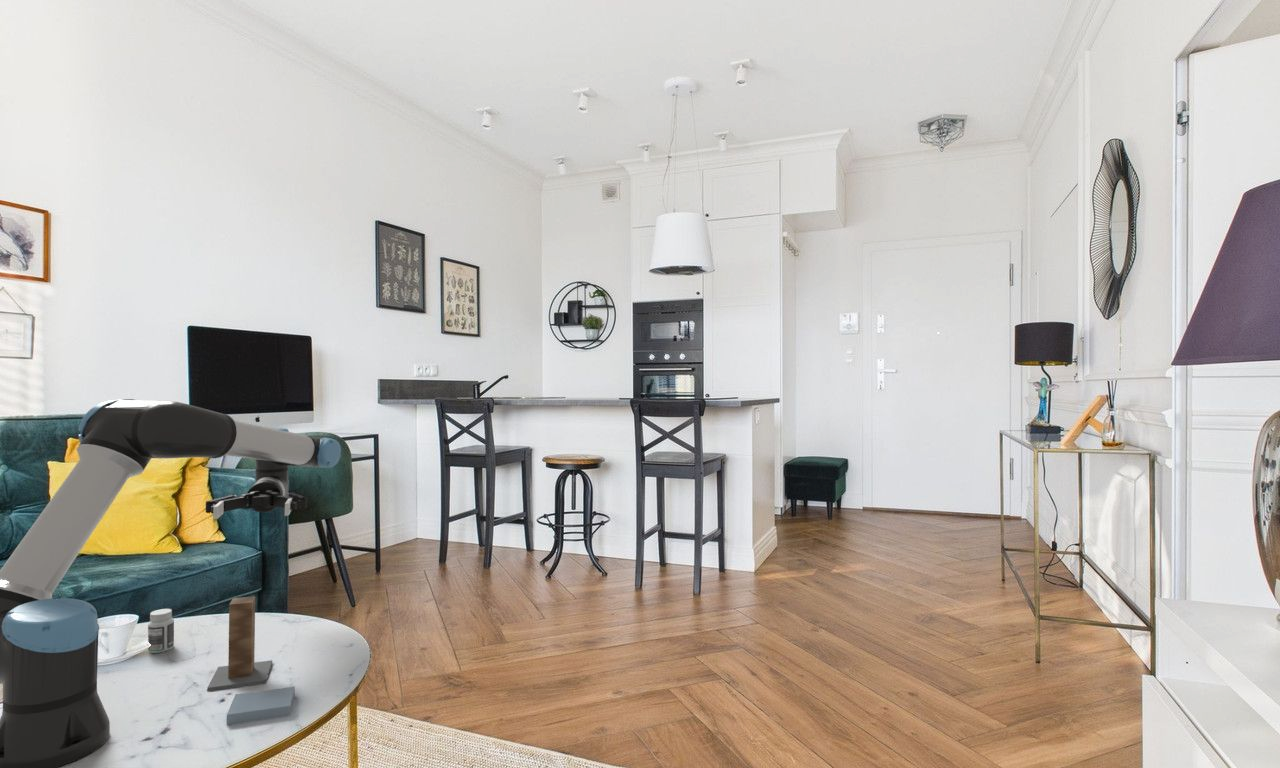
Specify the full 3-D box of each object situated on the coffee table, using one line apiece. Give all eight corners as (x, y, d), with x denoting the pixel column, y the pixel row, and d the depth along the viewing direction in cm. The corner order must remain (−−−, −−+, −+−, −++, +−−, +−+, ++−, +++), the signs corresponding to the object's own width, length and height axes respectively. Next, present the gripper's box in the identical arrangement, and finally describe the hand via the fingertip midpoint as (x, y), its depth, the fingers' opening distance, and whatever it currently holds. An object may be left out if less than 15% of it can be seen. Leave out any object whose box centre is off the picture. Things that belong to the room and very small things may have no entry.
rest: (207, 690, 131) (207, 687, 131) (218, 669, 140) (218, 666, 140) (265, 683, 135) (265, 680, 135) (272, 663, 144) (272, 660, 144)
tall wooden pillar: (228, 678, 135) (229, 604, 135) (232, 670, 138) (233, 598, 138) (250, 675, 136) (252, 602, 136) (254, 667, 140) (255, 596, 140)
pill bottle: (169, 643, 153) (170, 606, 153) (176, 648, 150) (177, 611, 150) (144, 649, 149) (145, 611, 149) (151, 655, 146) (152, 617, 146)
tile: (235, 705, 126) (226, 726, 119) (235, 694, 126) (226, 714, 118) (294, 697, 130) (290, 717, 122) (294, 686, 130) (290, 705, 122)
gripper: (321, 507, 170) (314, 524, 151) (207, 512, 161) (183, 532, 141) (322, 477, 170) (315, 491, 151) (207, 481, 161) (184, 496, 141)
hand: (251, 511), depth 146 cm, fingers open, 13 cm apart
